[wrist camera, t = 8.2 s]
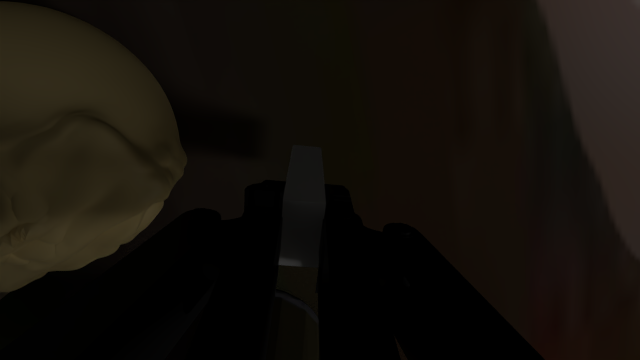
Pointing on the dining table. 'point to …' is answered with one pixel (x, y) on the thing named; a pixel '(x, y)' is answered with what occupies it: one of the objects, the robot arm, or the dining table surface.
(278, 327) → the canister
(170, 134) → the sculpture
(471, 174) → the dining table surface
